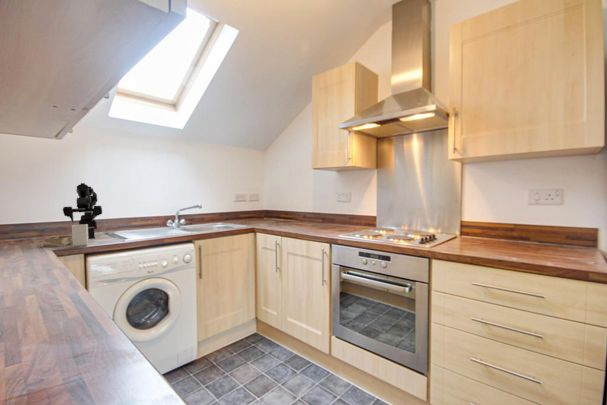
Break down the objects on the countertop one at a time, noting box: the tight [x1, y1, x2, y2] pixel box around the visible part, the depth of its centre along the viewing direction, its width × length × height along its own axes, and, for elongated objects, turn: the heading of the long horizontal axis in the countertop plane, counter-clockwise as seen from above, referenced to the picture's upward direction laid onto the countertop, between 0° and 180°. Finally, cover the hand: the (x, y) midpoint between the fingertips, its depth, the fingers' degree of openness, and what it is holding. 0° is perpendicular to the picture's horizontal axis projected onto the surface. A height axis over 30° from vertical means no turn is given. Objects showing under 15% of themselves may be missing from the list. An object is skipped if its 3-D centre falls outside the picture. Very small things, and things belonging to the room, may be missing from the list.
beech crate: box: [42, 235, 73, 248], centre depth 171 cm, size 11×11×4 cm
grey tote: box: [71, 224, 90, 248], centre depth 167 cm, size 6×6×12 cm
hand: (82, 221), depth 173 cm, fingers open, 9 cm apart
